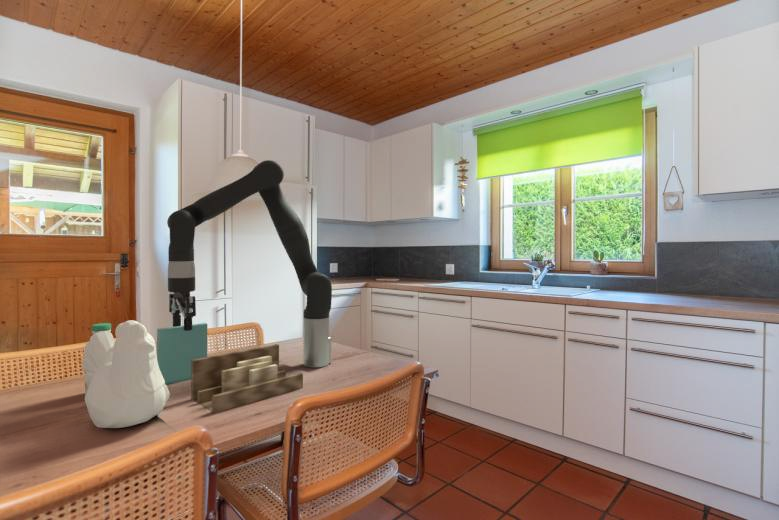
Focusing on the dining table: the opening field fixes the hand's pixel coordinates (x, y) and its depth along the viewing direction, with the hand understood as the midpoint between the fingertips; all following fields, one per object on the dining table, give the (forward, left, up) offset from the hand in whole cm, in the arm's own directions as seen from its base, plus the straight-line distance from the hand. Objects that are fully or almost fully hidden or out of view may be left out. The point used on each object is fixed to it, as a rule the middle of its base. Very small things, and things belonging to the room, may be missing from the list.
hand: (182, 328), depth 126 cm
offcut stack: (-8, +27, -16) cm, 32 cm away
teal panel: (0, 0, -17) cm, 17 cm away
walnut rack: (-8, +26, -17) cm, 32 cm away
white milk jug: (+20, +16, -17) cm, 31 cm away
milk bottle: (+19, -8, -17) cm, 27 cm away
